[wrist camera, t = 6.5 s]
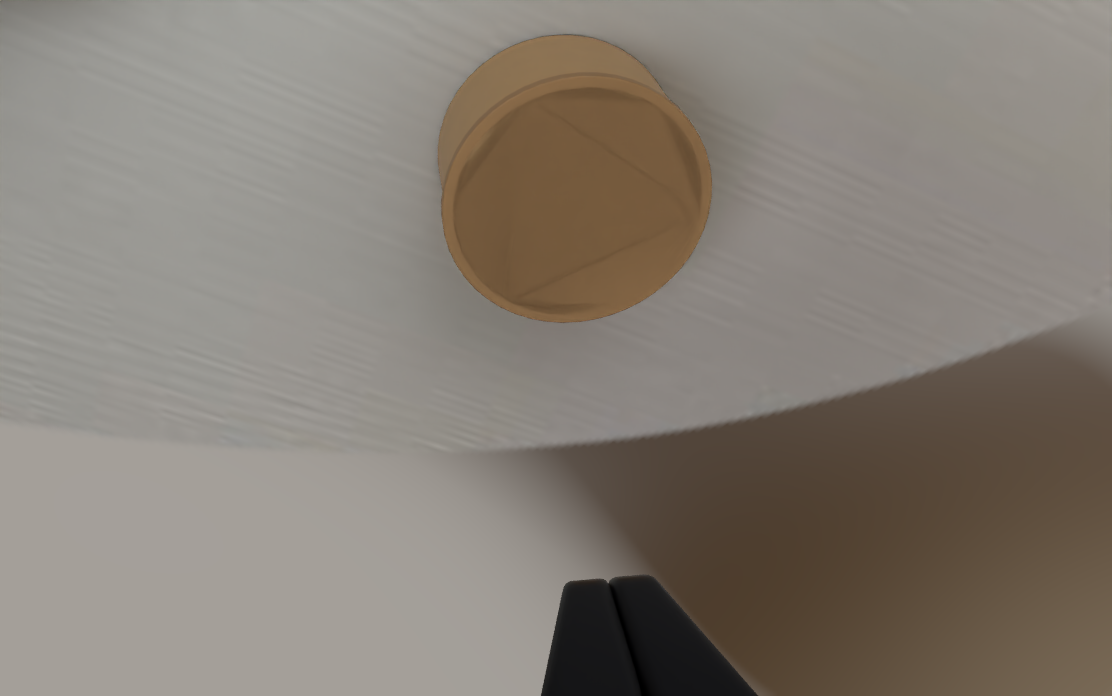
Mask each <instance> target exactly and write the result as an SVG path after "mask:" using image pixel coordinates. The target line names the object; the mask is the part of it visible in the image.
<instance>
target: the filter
mask: <svg viewBox="0 0 1112 696" xmlns="http://www.w3.org/2000/svg"><path fill="white" fill-rule="evenodd" d="M438 166H439V173H440V179H441V185H442V191H443V192H442V199H441V216H442V222H443V229H444V235H445V238H446V242H447V245H448V248H449V251H450V253H451V255H452V257H453V259H454V261H455V264H456V265H457V267H458V268H459V270H460V271H461V273H462V274H463V276H464V277H465V278H466V279H467V280H468V282H469V283H470V284H471V285H472V286H473V287H474V288H475V289H476V290H477V291H478V292H480V293H481V294H482V295H483V296H484V297H486V298H487V299H488V300H490V301H491V302H493V303H495V304H496V305H498V306H500V307H501V308H503V309H506V310H508V311H510V312H512V313H514V314H517V315H521V316H524V317H527V318H530V319H535V320H541V321H547V322H561V323H564V322H581V321H587V320H594V319H598V318H602V317H605V316H609V315H612V314H615V313H617V312H620V311H623V310H625V309H627V308H629V307H631V306H633V305H635V304H637V303H639V302H641V301H643V300H644V299H646V298H647V297H649V296H650V295H652V294H653V293H655V292H656V291H657V290H659V289H660V288H661V287H662V286H663V285H665V284H666V283H667V282H668V281H669V280H670V279H671V278H672V277H673V276H674V275H675V274H676V273H677V272H678V271H679V270H680V269H681V267H682V266H683V265H684V263H685V262H686V261H687V260H688V258H689V257H690V255H691V254H692V252H693V250H694V249H695V247H696V245H697V244H698V241H699V239H700V237H701V235H702V232H703V230H704V228H705V224H706V221H707V218H708V214H709V210H710V203H711V197H712V178H711V170H710V164H709V160H708V157H707V153H706V150H705V147H704V145H703V143H702V141H701V139H700V136H699V134H698V133H697V131H696V130H695V128H694V127H693V125H692V124H691V122H690V121H689V119H688V118H687V117H686V116H685V114H684V113H683V112H682V111H681V110H680V109H679V108H678V107H677V106H676V105H675V104H674V103H673V102H672V101H670V100H669V99H668V98H667V97H666V95H665V94H664V92H663V91H662V89H661V88H660V86H659V85H658V83H657V82H656V80H655V79H654V77H653V76H652V75H651V74H650V73H649V71H648V70H647V69H646V68H645V67H644V66H643V65H642V64H641V63H640V62H638V61H637V60H636V59H635V58H634V57H632V56H631V55H629V54H628V53H626V52H625V51H623V50H621V49H620V48H618V47H616V46H613V45H611V44H609V43H606V42H604V41H600V40H597V39H593V38H590V37H583V36H576V35H553V36H546V37H539V38H535V39H531V40H528V41H524V42H521V43H519V44H516V45H514V46H511V47H509V48H507V49H505V50H504V51H502V52H500V53H498V54H496V55H495V56H493V57H492V58H490V59H489V60H488V61H486V62H485V63H484V64H482V65H481V66H480V67H479V68H478V69H477V70H476V71H475V72H474V73H473V74H471V75H470V76H469V77H468V79H467V80H466V81H465V82H464V84H463V85H462V86H461V87H460V89H459V90H458V92H457V93H456V95H455V97H454V98H453V100H452V101H451V103H450V105H449V108H448V110H447V112H446V114H445V117H444V120H443V123H442V127H441V130H440V135H439V143H438Z"/></svg>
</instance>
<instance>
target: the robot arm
mask: <svg viewBox="0 0 1112 696" xmlns="http://www.w3.org/2000/svg"><path fill="white" fill-rule="evenodd" d="M541 696H758V695H757V694H756V693H755V692H754V691H753V690H752V689H751V687H750V686H749V685H748V684H747V683H746V682H745V681H744V679H743V678H742V677H741V676H740V675H739V674H738V672H737V671H736V670H735V669H734V668H733V667H732V666H731V664H730V663H729V662H728V661H727V660H726V659H725V658H724V656H723V655H722V654H721V653H720V652H719V651H718V650H717V649H716V647H715V646H714V645H713V644H712V643H711V642H710V640H708V638H707V637H706V636H705V635H704V634H703V632H702V631H701V630H700V629H699V628H698V627H697V626H696V624H695V623H694V622H693V621H692V620H691V619H690V618H689V616H688V615H687V614H686V613H685V612H684V611H683V610H682V608H681V607H680V606H679V605H678V604H677V603H676V602H675V600H674V599H673V598H672V597H671V596H670V595H669V594H668V592H667V591H666V590H665V589H664V588H663V587H662V586H661V584H660V583H659V582H658V581H657V580H656V579H655V578H654V577H652V576H649V575H634V576H622V577H615V578H612V579H611V580H610V581H609V583H607V581H606V580H604V579H590V580H579V581H570V582H568V583H566V585H565V586H564V589H563V592H562V597H561V602H560V607H559V612H558V616H557V621H556V626H555V631H554V636H553V640H552V645H551V650H550V655H549V659H548V664H547V669H546V675H545V679H544V684H543V688H542V693H541Z"/></svg>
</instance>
